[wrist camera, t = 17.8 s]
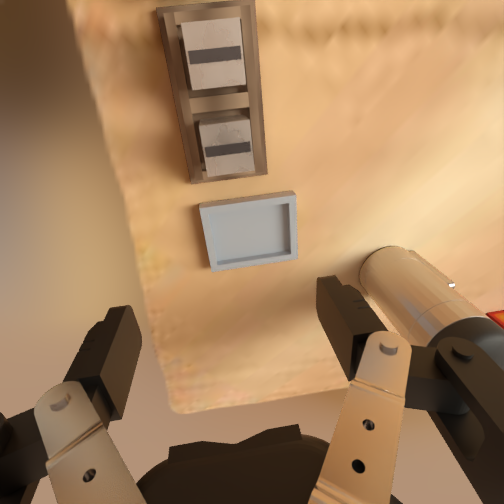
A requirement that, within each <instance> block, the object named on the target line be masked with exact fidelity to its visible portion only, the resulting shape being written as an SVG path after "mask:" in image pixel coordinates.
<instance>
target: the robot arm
mask: <svg viewBox="0 0 504 504" xmlns="http://www.w3.org/2000/svg"><path fill="white" fill-rule="evenodd" d="M360 282H361V284H362V286H363V287H364V289H365V290H366V291H367V292H368V294H369V295H370V296H371V298H372V299H373V300H374V302H375V303H376V304H377V305H378V307H379V308H380V309H381V310H382V312H383V313H384V314H385V316H386V317H387V318H388V319H389V321H390V322H391V323H392V324H393V326H394V327H395V328H396V330H397V331H398V332H399V333H400V335H401V336H400V335H398V334H396V333H393V332H389V331H388V330H387V328H386V327H385V326H384V324H383V323H382V322H381V320H380V319H379V318H378V316H377V315H376V314H375V312H374V311H373V310H372V308H371V307H370V306H369V304H368V303H367V302H366V301H365V299H364V298H363V296H362V295H361V293H360V292H359V291H358V290H356V289H355V288H353V287H352V286H350V285H344V286H342V284H341V283H340V281H339V280H338V278H337V277H336V276H335V275H333V276H326V277H319V278H317V290H316V309H317V314H318V318H319V320H320V322H321V324H322V327H323V329H324V331H325V333H326V335H327V337H328V339H329V341H330V343H331V345H332V348H333V350H334V352H335V354H336V356H337V358H338V360H339V362H340V364H341V366H342V368H343V371H344V373H345V375H346V377H347V379H348V381H351V383H350V386H349V389H348V392H347V395H346V398H345V401H344V404H343V407H342V410H341V413H340V416H339V419H338V422H337V425H336V428H335V431H334V434H333V437H332V440H331V443H328V442H326V441H324V440H322V439H319V438H316V437H313V436H309V435H303V434H301V432H300V429H299V425H298V424H295V425H290V426H285V427H278V428H273V429H267V430H265V431H263V432H261V433H259V434H256V435H255V436H252V437H250V438H248V439H246V440H244V441H242V442H239V443H237V444H227V443H216V442H206V441H200V442H194V443H188V444H183V445H177V446H172V447H169V457H168V459H167V460H164V461H163V462H161V463H159V464H158V465H156V466H155V467H153V468H152V469H151V470H150V471H148V472H147V473H146V474H145V475H144V476H143V477H142V478H141V479H140V480H139V481H138V482H137V483H135V481H134V479H133V477H132V476H131V474H130V472H129V470H128V468H127V466H126V465H125V463H124V461H123V459H122V457H121V456H120V454H119V452H118V450H117V448H116V446H115V445H114V443H113V441H112V439H111V437H110V436H109V434H108V432H107V429H108V426H109V423H110V421H114V420H120V419H122V416H123V413H124V409H125V405H126V402H127V398H128V394H129V391H130V387H131V383H132V379H133V375H134V372H135V368H136V365H137V361H138V357H139V354H140V350H141V346H142V336H141V332H140V329H139V326H138V323H137V320H136V318H135V315H134V312H133V309H132V307H131V306H130V305H126V306H119V307H112V308H110V309H109V310H108V313H107V315H106V317H105V319H104V321H100V322H97V323H96V324H95V325H94V326H93V327H92V328H91V329H90V330H89V331H88V333H87V335H86V337H85V339H84V341H83V344H82V345H81V347H80V349H79V352H78V353H77V355H76V357H75V359H74V361H73V362H72V364H71V366H70V368H69V371H68V372H67V374H66V376H65V378H64V380H63V382H62V383H60V384H58V385H56V386H54V387H53V388H51V389H50V390H48V391H47V392H46V393H45V394H44V395H43V396H42V397H41V398H40V399H39V400H38V402H37V404H36V406H35V407H34V408H32V409H30V410H28V411H25V412H23V413H20V414H18V415H16V416H13V417H11V418H8V419H6V418H5V417H4V415H3V414H2V413H1V412H0V504H31V501H32V499H33V496H34V494H35V491H36V489H37V486H38V483H39V481H40V479H41V478H43V477H45V476H47V475H49V478H50V481H51V484H52V488H53V491H54V494H55V497H56V500H57V503H58V504H403V503H401V502H400V501H399V500H398V499H397V498H396V497H394V496H393V495H392V494H391V490H392V483H393V477H394V470H395V463H396V457H397V451H398V444H399V438H400V431H401V424H402V418H403V411H404V407H405V408H412V409H419V410H426V411H427V412H428V414H429V415H430V417H431V419H432V420H433V422H434V423H435V425H436V427H437V428H438V430H439V432H440V433H441V435H442V437H443V438H444V440H445V441H446V443H447V445H448V447H449V448H450V450H451V452H452V453H453V455H454V456H455V458H456V460H457V461H458V463H459V465H460V466H461V468H462V470H463V471H464V473H465V474H466V476H467V478H468V479H469V481H470V483H471V484H472V486H473V488H474V489H475V491H476V492H477V494H478V496H479V498H480V499H481V501H482V502H483V504H504V329H503V328H502V327H500V326H499V325H498V324H497V323H495V322H494V321H493V320H491V319H490V318H489V317H488V316H486V315H485V314H484V313H483V312H481V311H480V310H479V309H478V308H477V307H475V306H474V305H473V304H472V303H470V302H469V301H468V300H467V299H465V298H464V297H463V296H462V295H460V294H459V293H458V292H457V291H456V290H454V287H455V284H454V282H453V281H452V280H450V279H449V278H448V277H447V276H445V275H444V274H443V273H442V272H440V271H439V270H438V269H436V268H435V267H434V266H433V265H431V264H430V263H429V262H428V261H426V260H425V259H424V258H422V257H421V256H420V255H419V254H417V253H416V252H415V251H407V250H405V249H403V248H401V247H396V246H391V247H385V248H382V249H380V250H378V251H376V252H374V253H373V254H372V255H370V256H369V257H368V258H367V260H366V261H365V262H364V264H363V265H362V268H361V270H360Z"/></svg>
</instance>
